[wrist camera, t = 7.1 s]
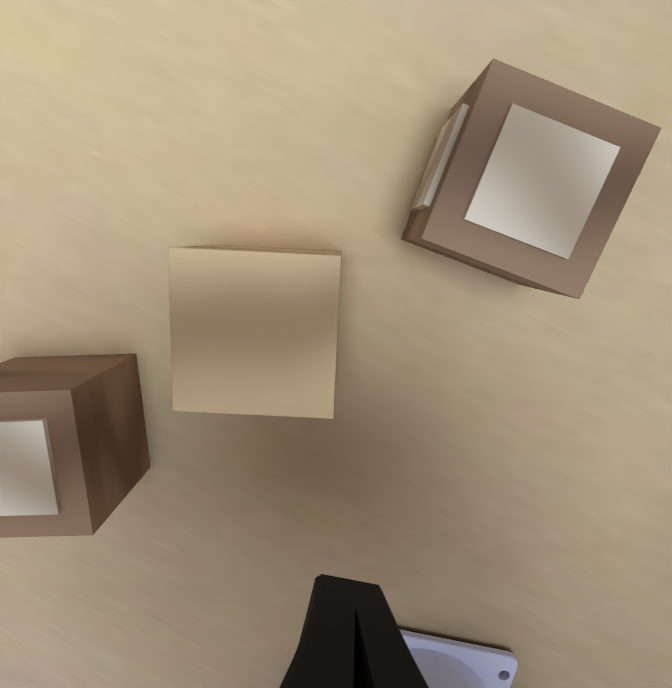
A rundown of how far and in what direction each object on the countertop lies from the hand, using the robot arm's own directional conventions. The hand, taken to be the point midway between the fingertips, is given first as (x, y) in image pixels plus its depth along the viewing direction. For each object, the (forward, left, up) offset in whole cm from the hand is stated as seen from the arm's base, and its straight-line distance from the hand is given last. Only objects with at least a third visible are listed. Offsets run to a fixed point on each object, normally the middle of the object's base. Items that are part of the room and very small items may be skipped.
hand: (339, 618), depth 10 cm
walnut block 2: (+10, -3, -11) cm, 15 cm away
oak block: (+4, +4, -11) cm, 12 cm away
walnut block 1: (-2, +11, -11) cm, 15 cm away
